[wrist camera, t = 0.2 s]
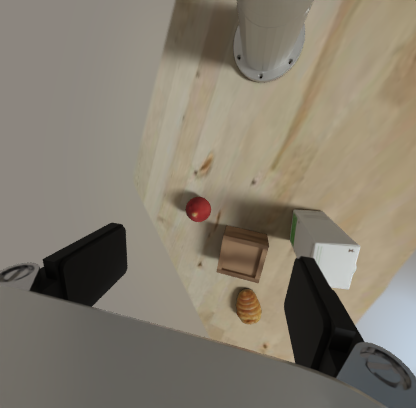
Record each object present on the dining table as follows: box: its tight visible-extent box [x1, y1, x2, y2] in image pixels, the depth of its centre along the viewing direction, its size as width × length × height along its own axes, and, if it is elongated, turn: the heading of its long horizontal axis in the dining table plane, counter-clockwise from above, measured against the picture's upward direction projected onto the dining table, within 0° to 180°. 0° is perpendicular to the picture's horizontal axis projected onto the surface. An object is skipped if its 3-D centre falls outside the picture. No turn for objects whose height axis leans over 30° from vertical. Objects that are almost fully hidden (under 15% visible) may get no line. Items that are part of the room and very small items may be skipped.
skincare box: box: [290, 210, 360, 289], centre depth 37 cm, size 8×7×16 cm
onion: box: [186, 197, 211, 222], centre depth 45 cm, size 6×6×8 cm
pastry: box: [236, 289, 262, 324], centre depth 52 cm, size 9×7×4 cm
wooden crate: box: [217, 225, 269, 283], centre depth 47 cm, size 10×10×6 cm
